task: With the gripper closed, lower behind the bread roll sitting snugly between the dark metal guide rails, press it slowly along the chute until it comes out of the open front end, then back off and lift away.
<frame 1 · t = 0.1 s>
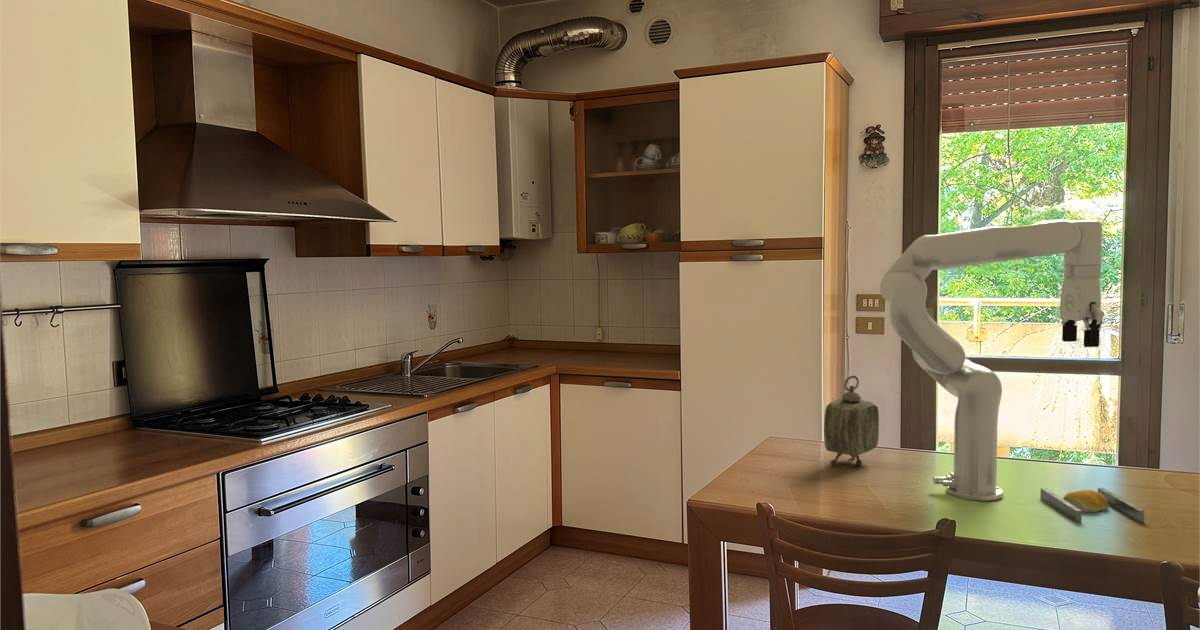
hand: (1080, 344, 192), 37 cm above the table, tool pointing down, fingers open, 9 cm apart
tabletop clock: (852, 464, 224), on the table
bread roll: (1084, 508, 185), on the table
chute: (1089, 509, 183), on the table
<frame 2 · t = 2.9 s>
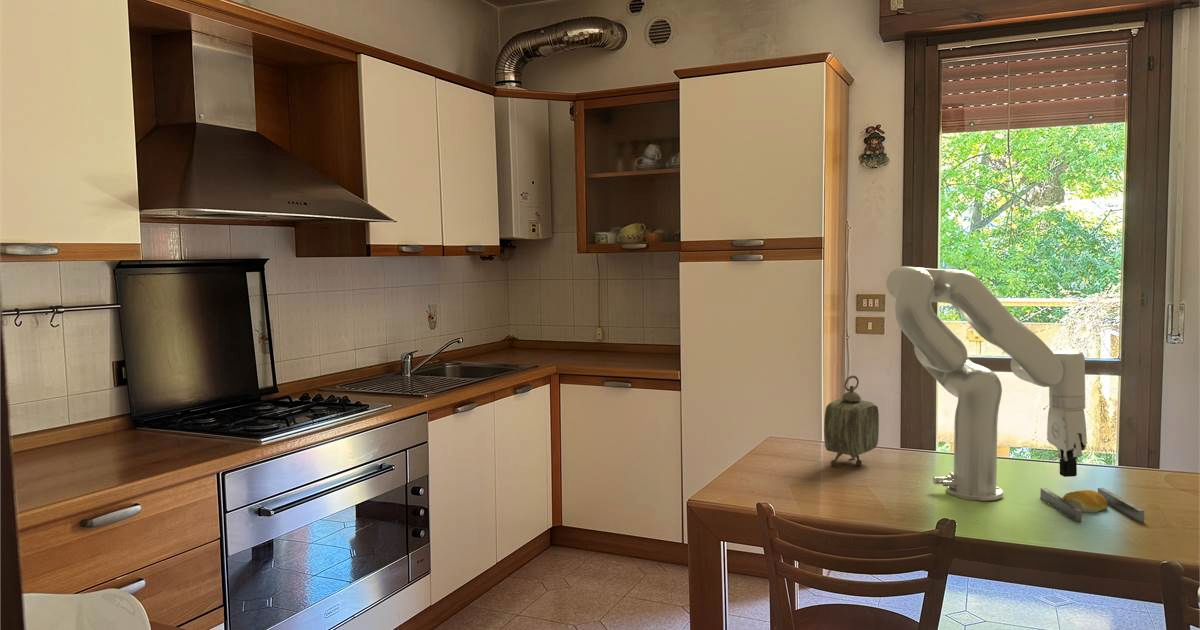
hand: (1068, 475, 195), 4 cm above the table, tool pointing down, fingers closed
nothing on the table moved.
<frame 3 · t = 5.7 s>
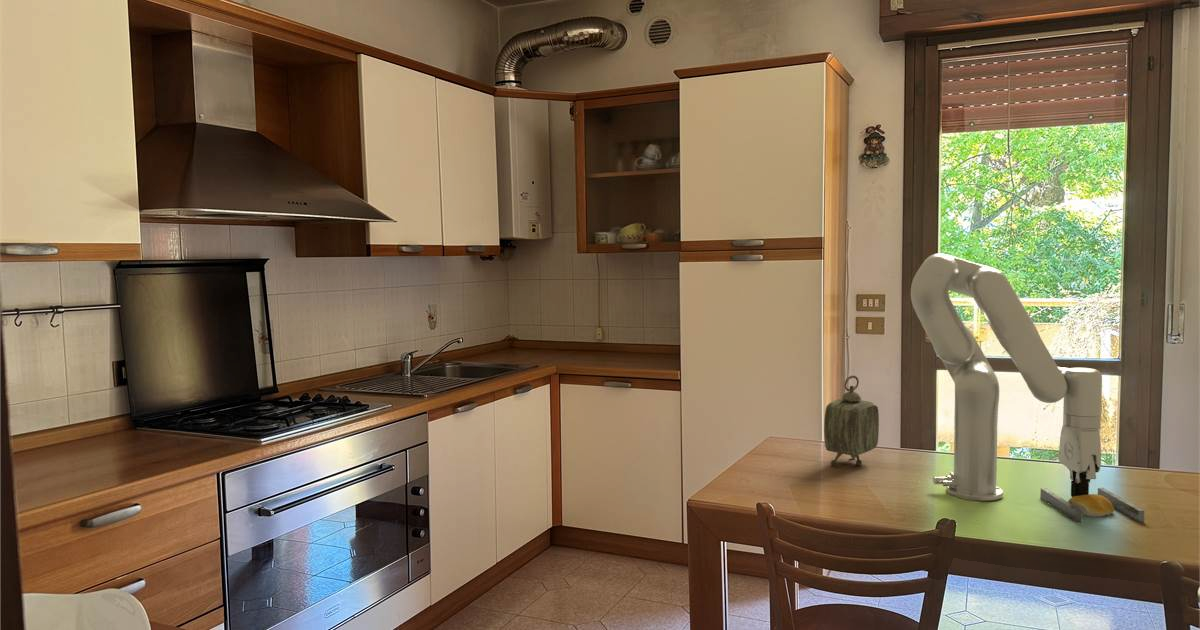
hand: (1079, 497, 188), 1 cm above the table, tool pointing down, fingers closed
bread roll: (1089, 512, 182), on the table
everything else where it was.
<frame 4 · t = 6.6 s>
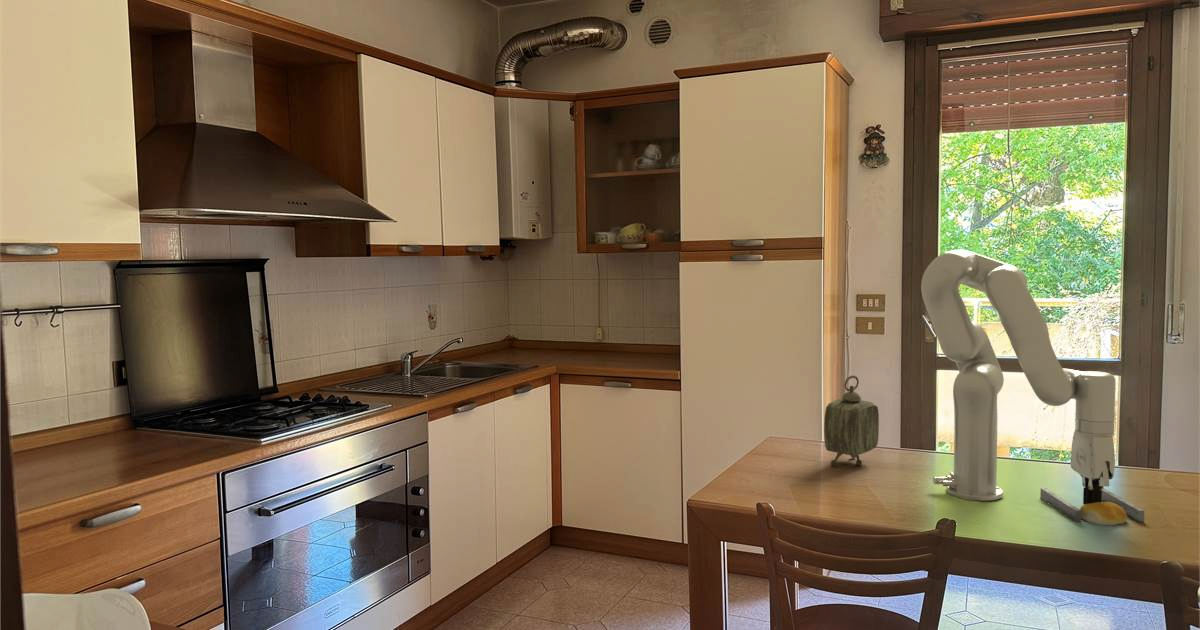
hand: (1092, 505, 183), 1 cm above the table, tool pointing down, fingers closed
bread roll: (1102, 521, 177), on the table, touching gripper
everything else where it was.
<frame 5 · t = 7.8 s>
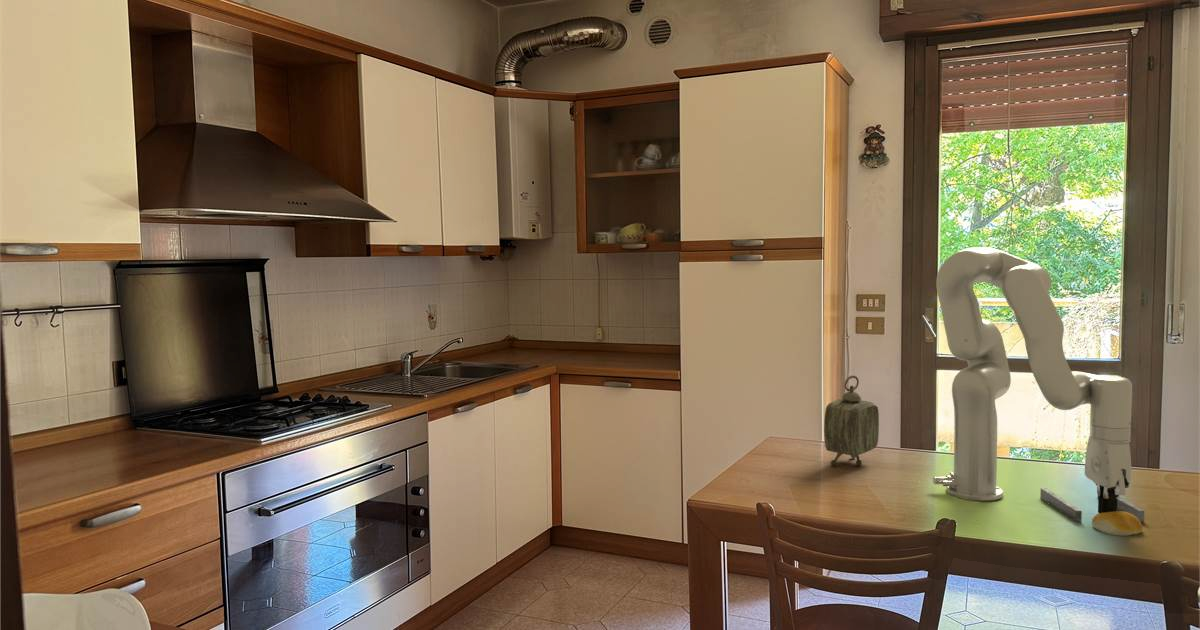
hand: (1107, 514, 176), 1 cm above the table, tool pointing down, fingers closed
bread roll: (1116, 531, 171), on the table, touching gripper
everything else where it was.
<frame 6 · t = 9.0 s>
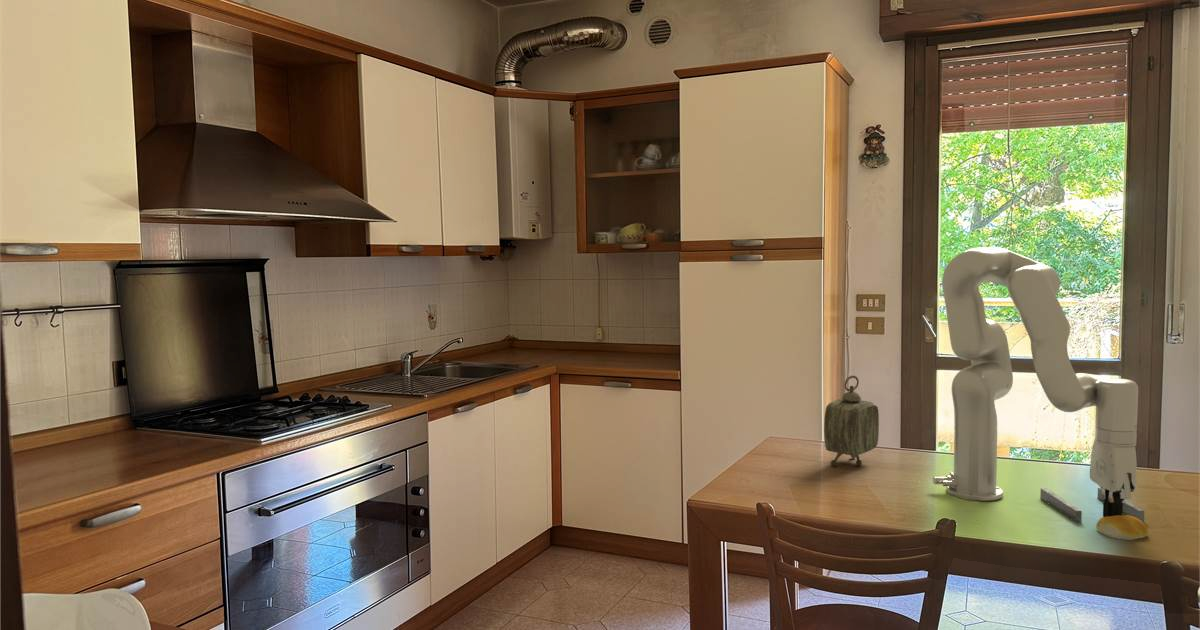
hand: (1112, 518, 174), 1 cm above the table, tool pointing down, fingers closed
bread roll: (1121, 535, 169), on the table
everything else where it was.
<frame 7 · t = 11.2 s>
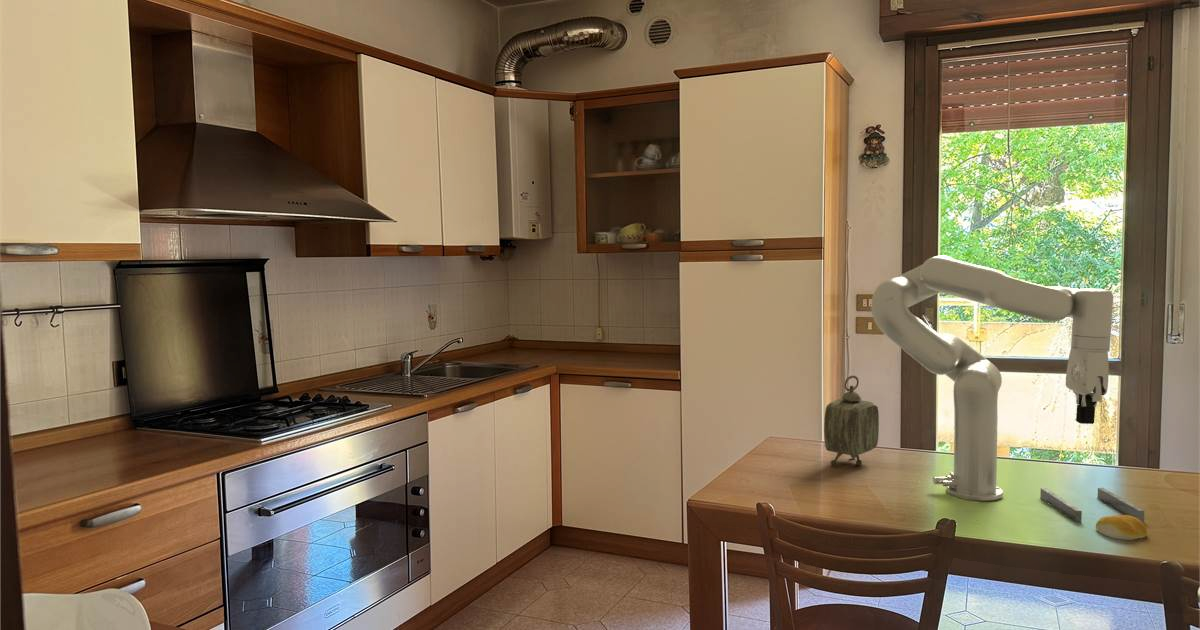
hand: (1084, 422, 183), 20 cm above the table, tool pointing down, fingers closed
nothing on the table moved.
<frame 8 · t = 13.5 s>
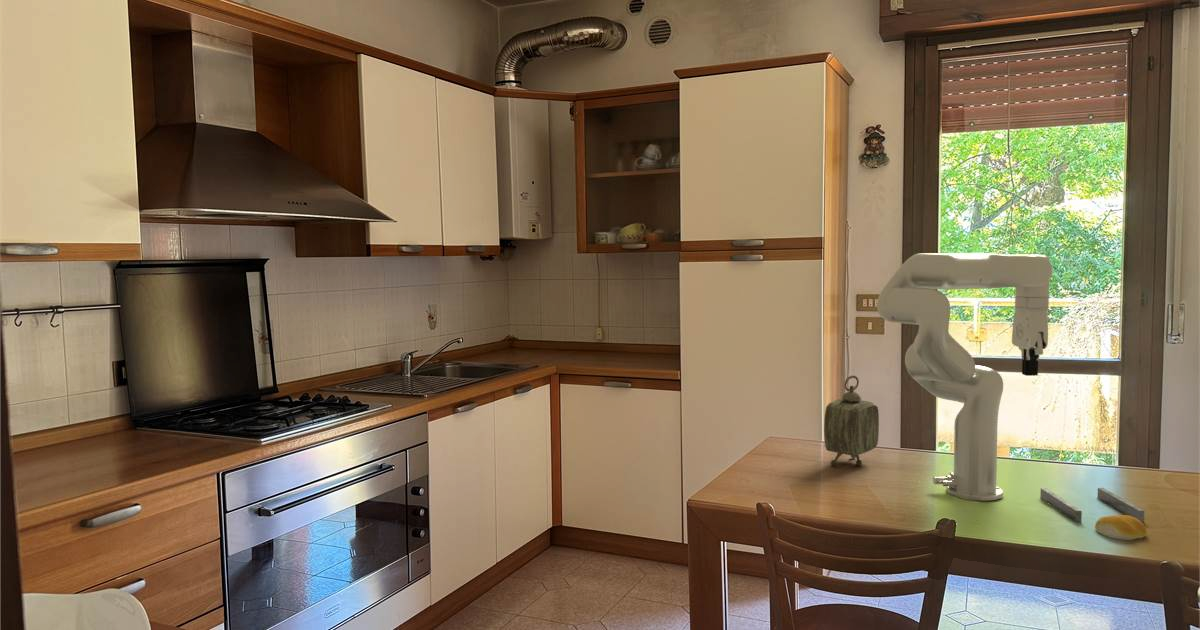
hand: (1029, 374, 205), 27 cm above the table, tool pointing down, fingers closed
nothing on the table moved.
at the end: bread roll inside the target area (2.3 cm from its centre), on the table; bread roll moved 16.8 cm from its start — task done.
